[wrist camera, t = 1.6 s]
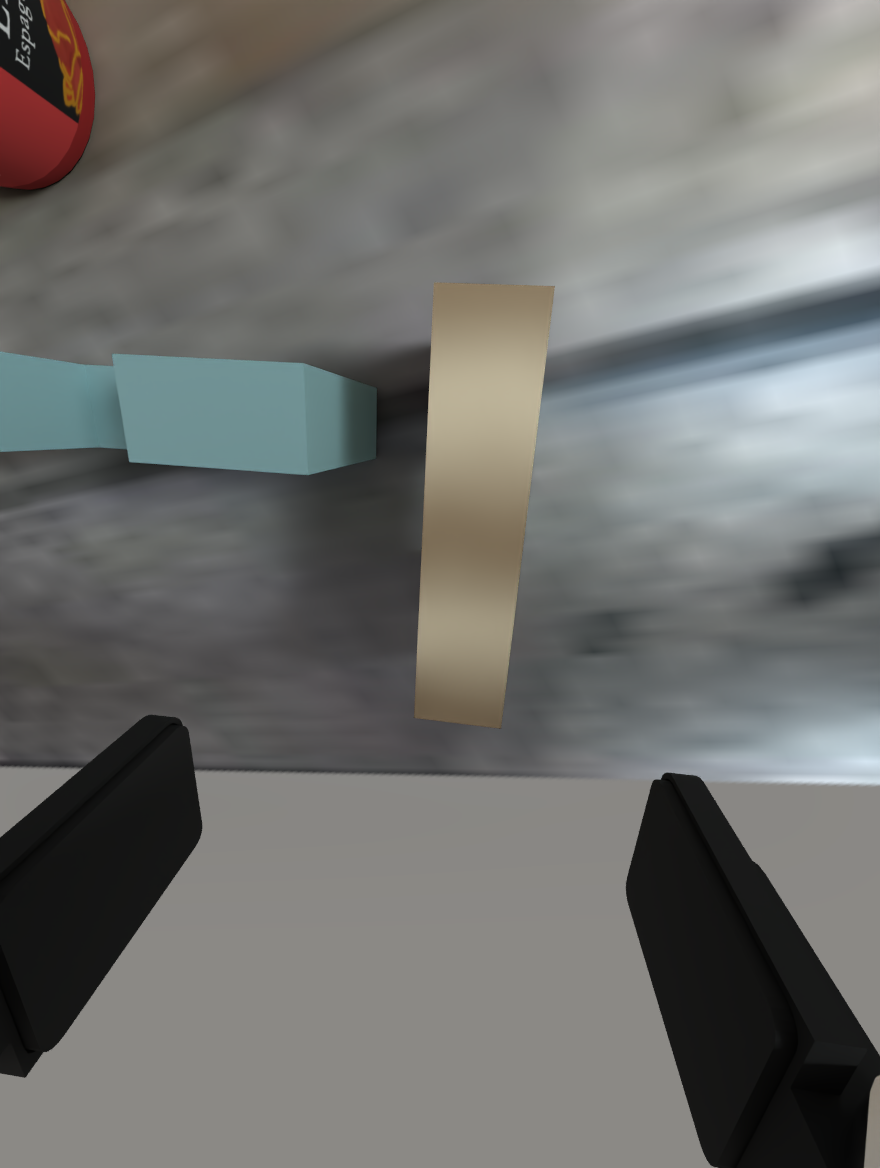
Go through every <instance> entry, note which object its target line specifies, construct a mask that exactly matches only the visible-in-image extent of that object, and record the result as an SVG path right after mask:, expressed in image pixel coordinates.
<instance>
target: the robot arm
mask: <svg viewBox="0 0 880 1168" xmlns="http://www.w3.org/2000/svg"><path fill="white" fill-rule="evenodd" d="M201 833H202V820H201V813H200V806H199V800H198V793H197V786H196V779H195V772H194V765H193V758H192V752H191V745H190V738H189V732H188V729H187V728H186V727H185V726H183V725H182V722H181V721H180V719H178V718H175V717H166V716H157V715H148V716H145V717H144V718H142V719H141V720H140V721H138V722H137V723H136V724H135V725H134V726H132V727H131V728H130V729H129V730H128V731H127V732H125V733H124V734H123V735H122V736H121V737H119V738H118V739H117V740H116V741H115V742H113V743H112V744H111V745H110V746H109V747H107V748H106V749H105V750H104V751H103V752H102V753H100V754H99V755H98V756H97V757H96V758H94V759H93V760H92V761H91V762H90V763H88V764H87V765H86V766H85V767H84V768H82V769H81V770H80V771H79V772H78V773H77V774H75V775H74V776H73V777H72V778H71V779H69V780H68V781H67V782H66V783H65V784H63V786H61V787H60V788H59V789H57V790H56V791H55V792H54V793H53V794H52V795H50V796H49V797H48V798H47V799H46V800H44V801H43V802H42V803H41V804H40V805H38V806H37V807H36V808H35V809H34V810H33V811H31V812H30V813H29V814H28V815H27V816H25V817H24V818H23V819H22V820H21V821H19V822H18V823H17V824H16V825H15V826H13V827H12V828H11V829H10V830H9V831H7V832H6V833H5V834H4V835H3V836H2V837H0V1073H2V1074H7V1075H14V1076H19V1077H24V1078H25V1077H26V1076H27V1075H28V1073H29V1072H30V1070H31V1069H32V1067H33V1066H34V1065H35V1063H36V1062H37V1060H38V1059H39V1058H40V1056H41V1055H42V1053H43V1052H47V1051H49V1050H51V1049H52V1048H53V1047H54V1046H55V1045H57V1043H58V1042H59V1041H60V1040H61V1039H62V1037H63V1036H64V1035H65V1033H66V1032H67V1030H68V1029H69V1027H70V1026H71V1025H72V1023H73V1022H74V1020H75V1019H76V1018H77V1016H78V1015H79V1013H80V1011H81V1010H82V1009H83V1007H84V1006H85V1005H86V1003H87V1002H88V1000H89V999H90V997H91V996H92V995H93V993H94V992H95V990H96V989H97V987H98V986H99V985H100V983H101V981H102V980H103V979H104V977H105V976H106V974H107V973H108V972H109V970H110V969H111V967H112V966H113V964H114V963H115V962H116V960H117V959H118V957H119V956H120V954H121V953H122V951H123V950H124V949H125V947H126V946H127V944H128V943H129V941H130V940H131V939H132V937H133V936H134V934H135V933H136V931H137V930H138V928H139V927H140V926H141V924H142V923H143V921H144V920H145V918H146V917H147V915H148V914H149V913H150V911H151V910H152V908H153V907H154V906H155V904H156V902H157V901H158V900H159V898H160V897H161V895H162V894H163V892H164V891H165V890H166V888H167V887H168V885H169V884H170V883H171V881H172V879H173V878H174V877H175V875H176V874H177V872H178V871H179V870H180V868H181V867H182V865H183V864H184V862H185V861H186V860H187V858H188V856H189V855H190V854H191V852H192V851H193V849H194V848H195V846H196V845H197V843H198V841H199V839H200V836H201ZM626 895H627V901H628V905H629V908H630V911H631V915H632V918H633V921H634V925H635V928H636V931H637V935H638V938H639V941H640V945H641V948H642V951H643V955H644V958H645V961H646V965H647V968H648V971H649V975H650V978H651V981H652V985H653V988H654V991H655V994H656V998H657V1001H658V1004H659V1008H660V1011H661V1014H662V1018H663V1021H664V1025H665V1028H666V1031H667V1035H668V1038H669V1041H670V1045H671V1048H672V1051H673V1055H674V1058H675V1061H676V1065H677V1068H678V1071H679V1075H680V1078H681V1081H682V1085H683V1088H684V1091H685V1095H686V1098H687V1101H688V1105H689V1108H690V1111H691V1114H692V1118H693V1121H694V1125H695V1128H696V1131H697V1135H698V1138H699V1141H700V1144H701V1147H702V1150H703V1153H704V1155H705V1157H706V1159H707V1161H708V1162H709V1163H710V1165H711V1166H713V1167H718V1168H880V1056H879V1054H878V1052H877V1051H876V1049H875V1047H874V1046H873V1044H872V1043H871V1041H870V1040H869V1038H868V1036H867V1035H866V1033H865V1032H864V1030H863V1028H862V1027H861V1025H860V1024H859V1022H858V1020H857V1019H856V1017H855V1016H854V1014H853V1013H852V1011H851V1009H850V1008H849V1006H848V1005H847V1003H846V1002H845V1000H844V998H843V997H842V995H841V993H840V992H839V990H838V989H837V987H836V986H835V984H834V982H833V981H832V979H831V978H830V976H829V974H828V973H827V971H826V970H825V968H824V966H823V965H822V963H821V962H820V960H819V958H818V957H817V955H816V954H815V952H814V950H813V949H812V947H811V946H810V944H809V943H808V941H807V939H806V938H805V936H804V935H803V933H802V931H801V930H800V928H799V927H798V925H797V923H796V922H795V920H794V919H793V917H792V916H791V914H790V912H789V911H788V909H787V908H786V906H785V904H784V903H783V901H782V900H781V898H780V897H779V895H778V893H777V892H776V890H775V888H774V887H773V885H772V884H771V882H770V881H769V879H768V877H767V876H766V874H765V873H764V872H763V870H762V869H761V868H760V867H759V865H758V864H756V863H755V862H753V861H752V860H751V858H750V857H749V855H748V853H747V852H746V850H745V848H744V847H743V846H742V844H741V842H740V840H739V839H738V837H737V836H736V834H735V832H734V831H733V829H732V827H731V826H730V825H729V823H728V821H727V819H726V818H725V816H724V815H723V813H722V811H721V810H720V808H719V806H718V805H717V803H716V801H715V800H714V798H713V797H712V795H711V793H710V792H709V790H708V789H707V787H706V785H705V784H704V782H703V781H702V780H701V778H699V777H698V776H693V775H684V774H675V773H665V774H664V775H663V776H662V778H661V780H654V781H653V783H652V785H651V789H650V794H649V797H648V801H647V804H646V808H645V812H644V816H643V819H642V823H641V827H640V831H639V835H638V839H637V842H636V846H635V850H634V854H633V857H632V861H631V865H630V869H629V873H628V876H627V882H626Z"/></svg>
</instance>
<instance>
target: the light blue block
mask: <svg viewBox="0 0 880 1168" xmlns="http://www.w3.org/2000/svg"><path fill="white" fill-rule="evenodd" d="M112 359H113V365H114V366H100V365H83V364H76V363H70V362H64V361H57V360H51V359H44V358H38V357H31V356H25V355H19V354H12V353H6V352H0V452H8V451H29V450H51V449H73V448H95V447H102V448H116V449H127V451H128V457H129V462H137V463H150V464H164V465H177V466H191V467H204V468H218V469H232V470H245V471H259V472H272V473H286V474H300V475H310V474H314V473H319V472H323V471H327V470H331V469H335V468H339V467H343V466H348V465H352V464H356V463H360V462H364V461H368V460H372V459H376V427H377V388H375V387H372V386H369V385H366V384H364V383H361V382H358V381H355V380H352V379H349V378H346V377H343V376H340V375H337V374H334V373H331V372H328V371H325V370H322V369H319V368H316V367H313V366H310V365H307V364H304V363H289V362H269V361H248V360H228V359H208V358H188V357H167V356H147V355H127V354H112Z"/></svg>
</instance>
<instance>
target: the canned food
mask: <svg viewBox="0 0 880 1168" xmlns="http://www.w3.org/2000/svg"><path fill="white" fill-rule="evenodd" d="M94 105H95V90H94V79H93V70H92V66H91V62H90V57H89V53H88V49H87V46H86V43H85V41H84V38H83V36H82V33H81V30H80V28H79V25H78V23H77V21H76V20H75V18H74V16H73V14H72V12H71V11H70V9H69V7H68V5H67V4H66V2H65V0H0V186H2V187H8V188H15V189H27V190H32V189H37V188H43V187H47V186H49V185H51V184H53V183H55V182H57V181H59V180H60V179H61V178H63V177H64V176H65V175H66V174H67V173H68V172H70V171H71V170H72V168H73V167H74V166H75V164H76V163H77V161H78V160H79V159H80V157H81V156H82V154H83V151H84V149H85V147H86V144H87V142H88V140H89V137H90V132H91V128H92V123H93V119H94Z"/></svg>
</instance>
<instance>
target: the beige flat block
mask: <svg viewBox="0 0 880 1168" xmlns="http://www.w3.org/2000/svg"><path fill="white" fill-rule="evenodd" d="M554 288H555V286H530V285H497V284H465V283H434V295H433V316H432V338H431V360H430V382H429V403H428V425H427V447H426V469H425V491H424V512H423V534H422V556H421V578H420V600H419V621H418V643H417V665H416V687H415V709H414V718H419V719H427V720H435V721H443V722H451V723H459V724H467V725H475V726H483V727H491V728H499V729H501V724H502V716H503V708H504V699H505V691H506V683H507V675H508V666H509V658H510V650H511V642H512V633H513V625H514V617H515V609H516V601H517V592H518V584H519V576H520V568H521V559H522V551H523V543H524V535H525V527H526V518H527V510H528V502H529V494H530V485H531V477H532V469H533V461H534V452H535V444H536V436H537V428H538V420H539V411H540V403H541V395H542V387H543V378H544V370H545V362H546V354H547V345H548V337H549V329H550V321H551V313H552V304H553V296H554Z"/></svg>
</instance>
